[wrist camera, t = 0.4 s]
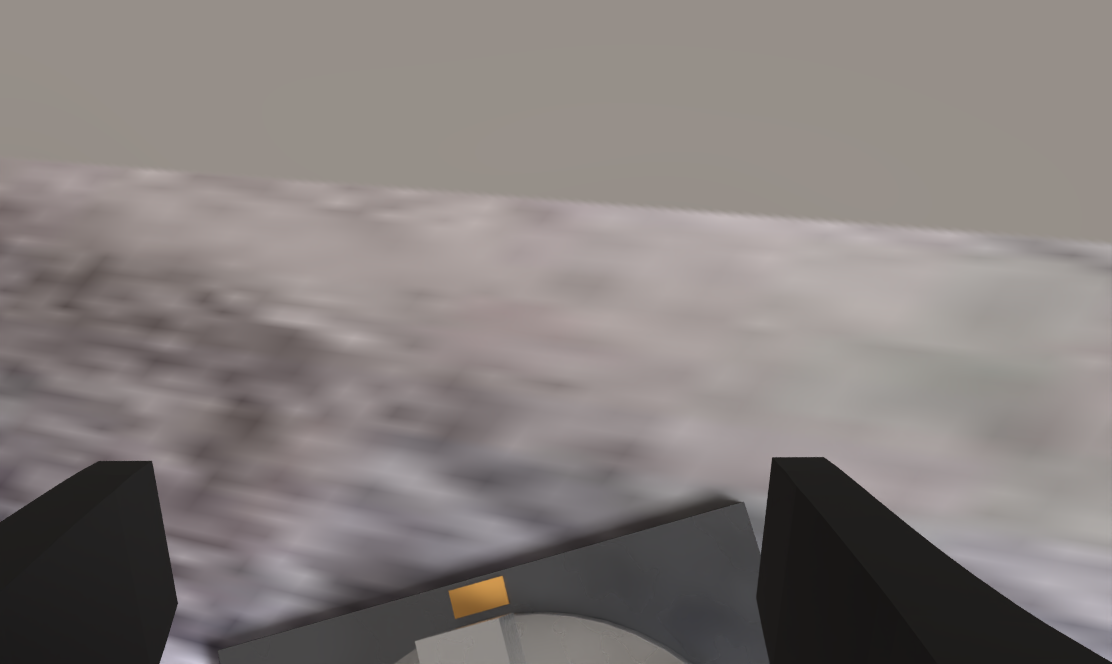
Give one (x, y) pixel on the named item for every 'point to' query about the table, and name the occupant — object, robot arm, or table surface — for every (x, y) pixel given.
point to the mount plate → (570, 599)
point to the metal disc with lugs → (541, 643)
